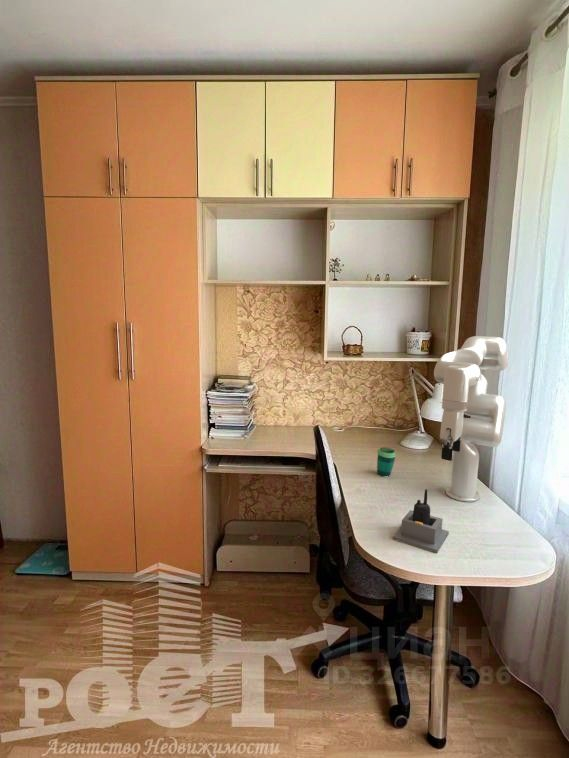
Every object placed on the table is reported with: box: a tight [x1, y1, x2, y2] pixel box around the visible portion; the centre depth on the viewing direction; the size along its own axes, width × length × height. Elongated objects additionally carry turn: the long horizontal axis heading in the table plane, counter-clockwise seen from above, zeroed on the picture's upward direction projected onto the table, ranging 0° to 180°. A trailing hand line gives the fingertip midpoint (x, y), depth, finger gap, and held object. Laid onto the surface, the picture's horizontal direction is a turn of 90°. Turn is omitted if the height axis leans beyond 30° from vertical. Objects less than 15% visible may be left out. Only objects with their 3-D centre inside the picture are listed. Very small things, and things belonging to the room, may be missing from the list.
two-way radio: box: [412, 488, 431, 525], centre depth 139 cm, size 6×4×15 cm
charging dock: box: [392, 509, 450, 554], centre depth 141 cm, size 14×14×6 cm
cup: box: [376, 446, 397, 477], centre depth 192 cm, size 8×8×12 cm
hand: (450, 455), depth 142 cm, fingers open, 9 cm apart
